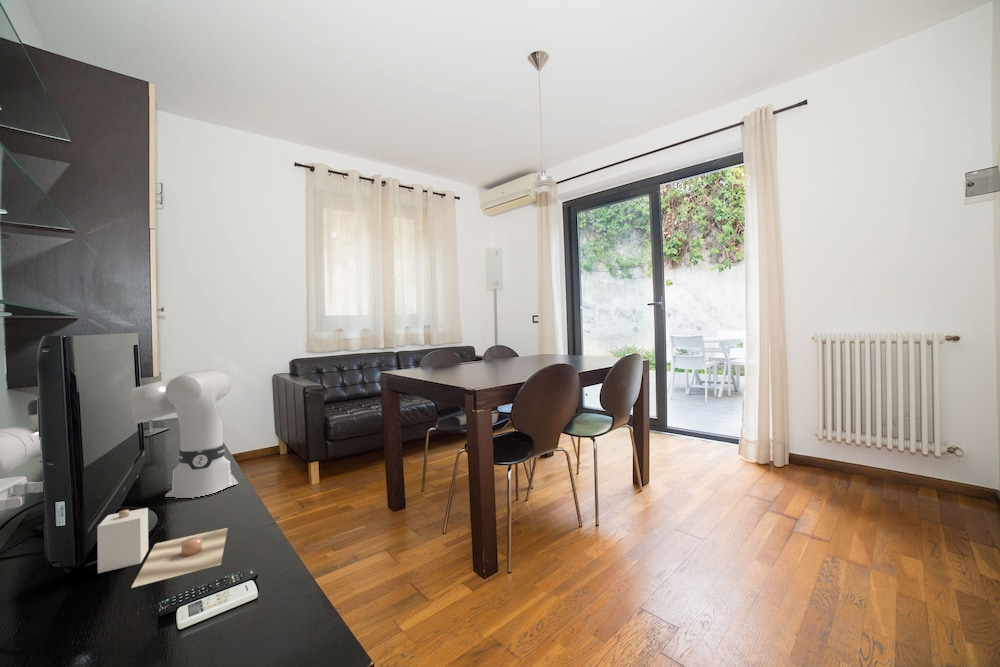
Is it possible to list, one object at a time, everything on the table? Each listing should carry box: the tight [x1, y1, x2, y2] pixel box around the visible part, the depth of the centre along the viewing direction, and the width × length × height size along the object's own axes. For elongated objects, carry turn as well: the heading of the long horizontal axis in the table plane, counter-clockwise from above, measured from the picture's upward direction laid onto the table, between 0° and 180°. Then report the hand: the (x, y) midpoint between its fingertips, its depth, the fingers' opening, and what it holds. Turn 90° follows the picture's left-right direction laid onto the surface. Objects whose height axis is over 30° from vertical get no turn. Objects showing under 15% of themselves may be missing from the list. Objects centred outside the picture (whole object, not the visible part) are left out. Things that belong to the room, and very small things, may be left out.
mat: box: [130, 527, 229, 589], centre depth 87 cm, size 20×14×1 cm
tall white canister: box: [96, 507, 149, 574], centre depth 85 cm, size 7×7×11 cm
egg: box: [181, 537, 202, 557], centre depth 88 cm, size 4×4×2 cm
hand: (35, 493), depth 79 cm, fingers open, 8 cm apart
